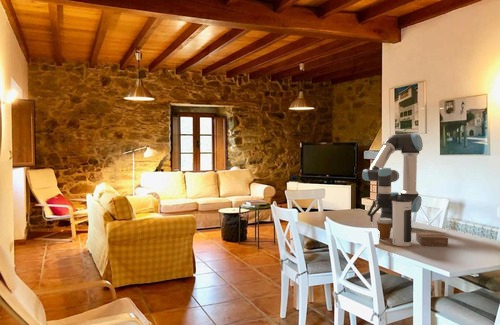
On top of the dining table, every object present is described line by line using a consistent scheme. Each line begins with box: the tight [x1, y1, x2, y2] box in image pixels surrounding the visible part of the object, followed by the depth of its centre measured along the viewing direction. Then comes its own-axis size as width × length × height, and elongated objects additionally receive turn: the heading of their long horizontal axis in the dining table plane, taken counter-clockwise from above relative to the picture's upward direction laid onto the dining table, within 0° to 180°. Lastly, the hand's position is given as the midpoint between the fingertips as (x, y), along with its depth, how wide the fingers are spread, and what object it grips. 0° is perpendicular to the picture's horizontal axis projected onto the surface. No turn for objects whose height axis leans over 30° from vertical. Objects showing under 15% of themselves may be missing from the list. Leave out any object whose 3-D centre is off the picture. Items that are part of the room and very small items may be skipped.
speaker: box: [392, 199, 412, 248], centre depth 236 cm, size 11×10×26 cm
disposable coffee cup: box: [376, 217, 393, 240], centre depth 253 cm, size 10×10×12 cm
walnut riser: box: [415, 231, 449, 248], centre depth 239 cm, size 14×14×5 cm
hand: (384, 227), depth 253 cm, fingers open, 13 cm apart
